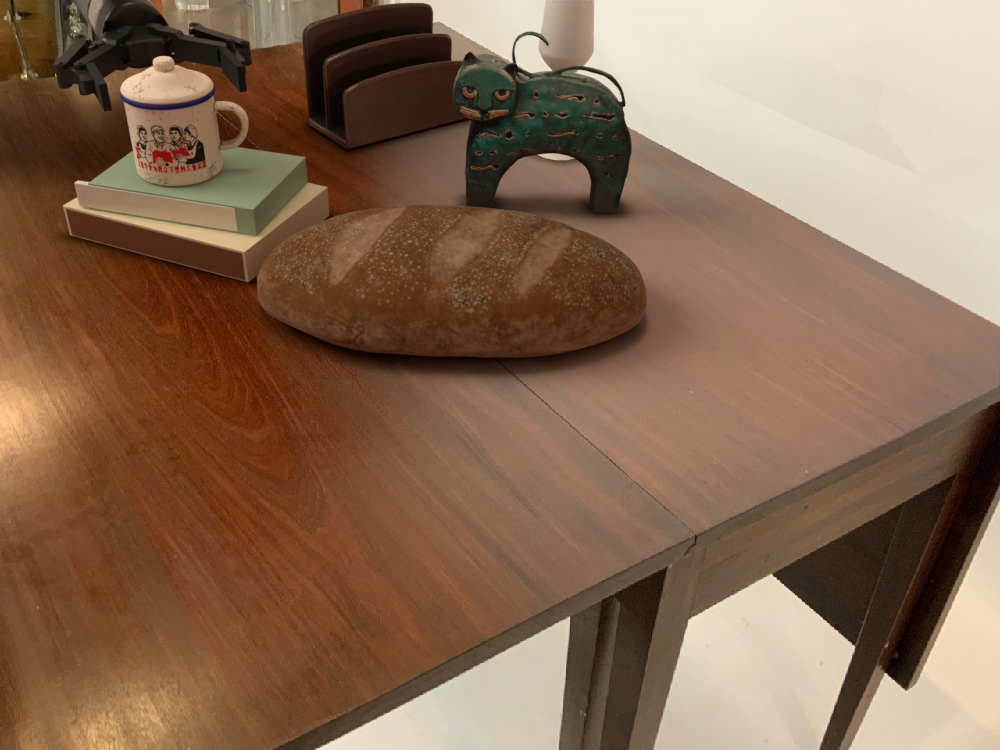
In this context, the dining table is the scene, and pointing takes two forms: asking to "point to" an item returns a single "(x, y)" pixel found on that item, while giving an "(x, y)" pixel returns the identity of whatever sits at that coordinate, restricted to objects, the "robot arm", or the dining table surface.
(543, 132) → the ceramic cat
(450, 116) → the letter holder
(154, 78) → the teacup with lid
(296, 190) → the book stack
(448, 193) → the dining table surface
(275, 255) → the bread
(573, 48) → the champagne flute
